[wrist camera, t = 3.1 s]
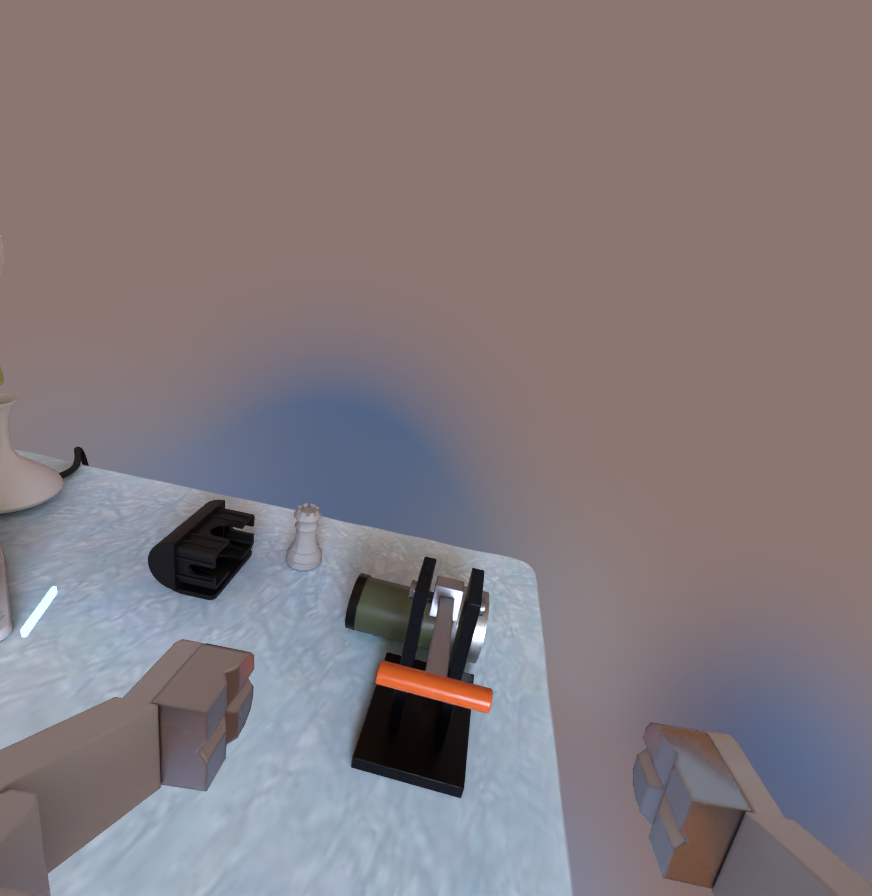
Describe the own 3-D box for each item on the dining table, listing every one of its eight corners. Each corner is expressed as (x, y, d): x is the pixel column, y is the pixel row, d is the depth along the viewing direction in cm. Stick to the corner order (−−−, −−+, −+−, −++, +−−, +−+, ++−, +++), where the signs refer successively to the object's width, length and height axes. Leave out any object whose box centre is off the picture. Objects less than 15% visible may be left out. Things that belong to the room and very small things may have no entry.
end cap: (201, 540, 59) (201, 494, 57) (254, 551, 59) (256, 506, 56) (148, 590, 50) (144, 538, 47) (211, 604, 50) (211, 552, 47)
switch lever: (485, 732, 22) (496, 682, 22) (370, 701, 22) (381, 652, 22) (478, 615, 37) (484, 586, 37) (411, 598, 38) (418, 570, 38)
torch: (477, 629, 53) (491, 579, 51) (473, 679, 47) (489, 625, 44) (360, 599, 54) (368, 549, 52) (340, 644, 48) (347, 589, 45)
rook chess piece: (306, 578, 56) (311, 522, 53) (277, 564, 57) (281, 509, 55) (328, 560, 60) (334, 507, 57) (301, 547, 61) (305, 495, 58)
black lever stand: (460, 798, 36) (508, 647, 30) (350, 767, 37) (376, 613, 31) (471, 683, 46) (508, 553, 40) (385, 660, 47) (409, 529, 41)
